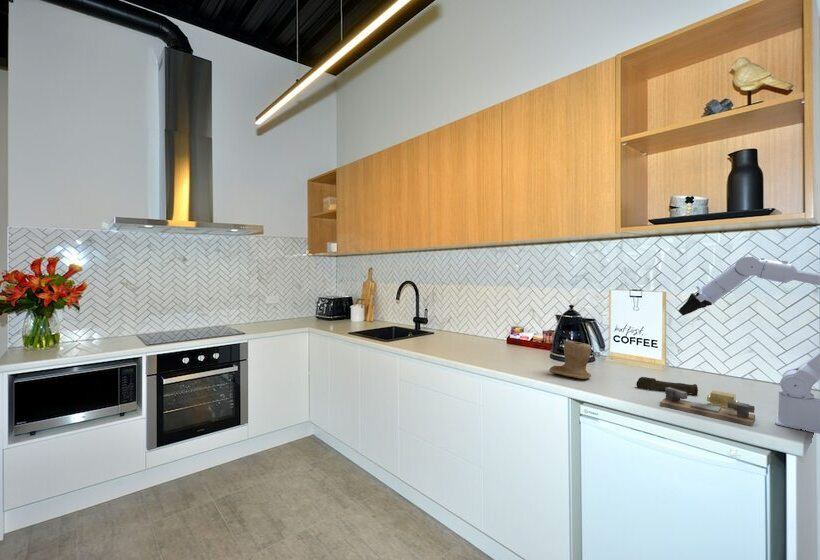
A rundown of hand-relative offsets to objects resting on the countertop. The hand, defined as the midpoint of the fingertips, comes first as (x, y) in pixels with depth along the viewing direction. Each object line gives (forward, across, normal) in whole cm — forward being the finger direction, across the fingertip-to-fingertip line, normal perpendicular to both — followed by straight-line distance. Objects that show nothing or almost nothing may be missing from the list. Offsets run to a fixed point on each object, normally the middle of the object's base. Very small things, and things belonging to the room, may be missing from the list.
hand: (683, 312), depth 132 cm
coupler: (+14, -3, +30) cm, 33 cm away
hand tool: (+26, -8, +18) cm, 33 cm away
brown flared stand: (+50, -3, -5) cm, 50 cm away
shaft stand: (+16, +7, +27) cm, 32 cm away
